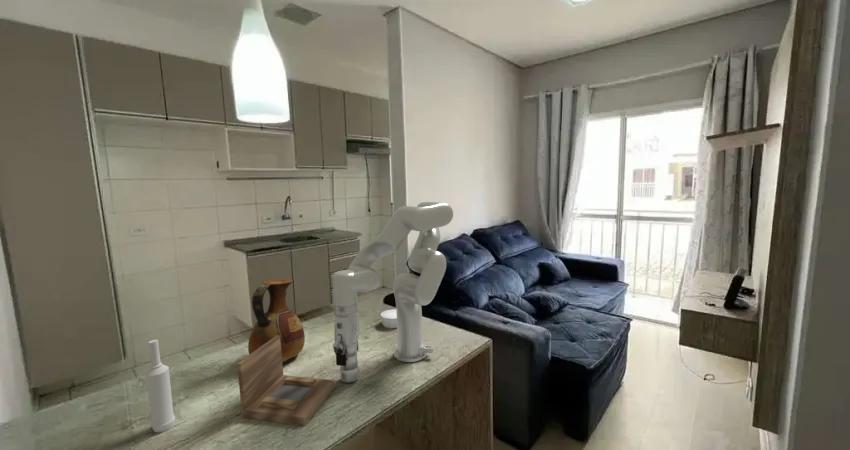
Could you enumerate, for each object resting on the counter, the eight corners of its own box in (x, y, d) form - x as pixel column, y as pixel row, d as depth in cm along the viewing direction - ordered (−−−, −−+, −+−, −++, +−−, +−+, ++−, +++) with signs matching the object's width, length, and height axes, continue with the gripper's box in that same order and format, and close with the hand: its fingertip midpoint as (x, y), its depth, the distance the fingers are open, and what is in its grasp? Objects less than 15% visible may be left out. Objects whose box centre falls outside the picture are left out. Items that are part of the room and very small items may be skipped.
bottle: (180, 419, 99) (169, 336, 95) (167, 432, 94) (155, 345, 90) (161, 420, 98) (150, 337, 95) (147, 433, 93) (135, 346, 90)
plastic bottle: (339, 376, 118) (335, 321, 116) (359, 372, 120) (356, 318, 118) (340, 387, 112) (336, 328, 110) (361, 383, 114) (358, 325, 112)
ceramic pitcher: (315, 347, 140) (310, 275, 136) (282, 374, 121) (275, 291, 117) (275, 342, 146) (269, 273, 142) (237, 367, 126) (229, 288, 123)
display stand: (334, 387, 112) (332, 339, 110) (305, 426, 95) (300, 369, 93) (280, 381, 116) (276, 335, 114) (241, 417, 99) (236, 363, 97)
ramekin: (404, 329, 155) (404, 318, 155) (379, 330, 155) (379, 318, 155) (405, 319, 166) (405, 308, 166) (382, 320, 166) (381, 309, 166)
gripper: (345, 319, 104) (347, 372, 106) (366, 300, 121) (367, 346, 123) (322, 317, 106) (324, 370, 108) (346, 299, 122) (348, 345, 124)
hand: (347, 357), depth 115 cm, fingers open, 9 cm apart
